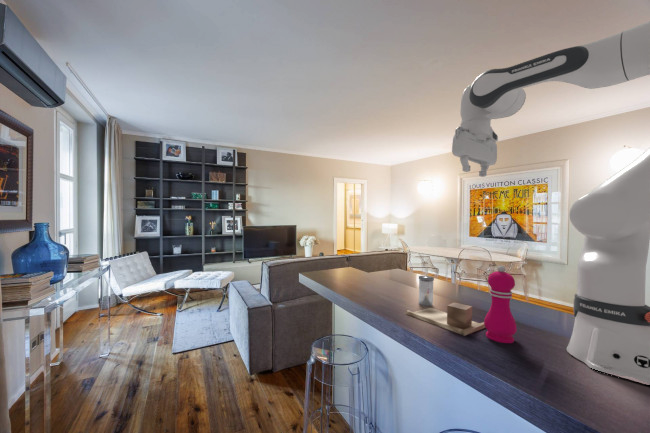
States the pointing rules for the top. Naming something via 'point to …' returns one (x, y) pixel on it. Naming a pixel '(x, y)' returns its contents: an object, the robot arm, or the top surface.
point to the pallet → (443, 320)
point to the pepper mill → (500, 307)
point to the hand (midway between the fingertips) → (474, 173)
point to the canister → (426, 290)
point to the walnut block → (459, 315)
